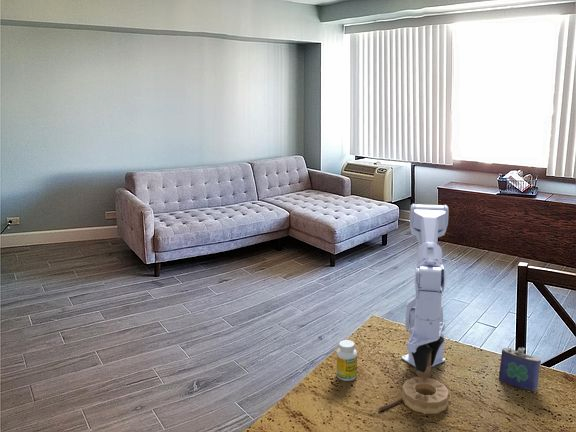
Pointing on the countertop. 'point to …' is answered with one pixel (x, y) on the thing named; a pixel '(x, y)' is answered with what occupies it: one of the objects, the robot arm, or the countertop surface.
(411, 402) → the wooden ring with handle
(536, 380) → the flask
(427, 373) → the brown rounded cylinder
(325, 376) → the countertop surface
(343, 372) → the supplement bottle
